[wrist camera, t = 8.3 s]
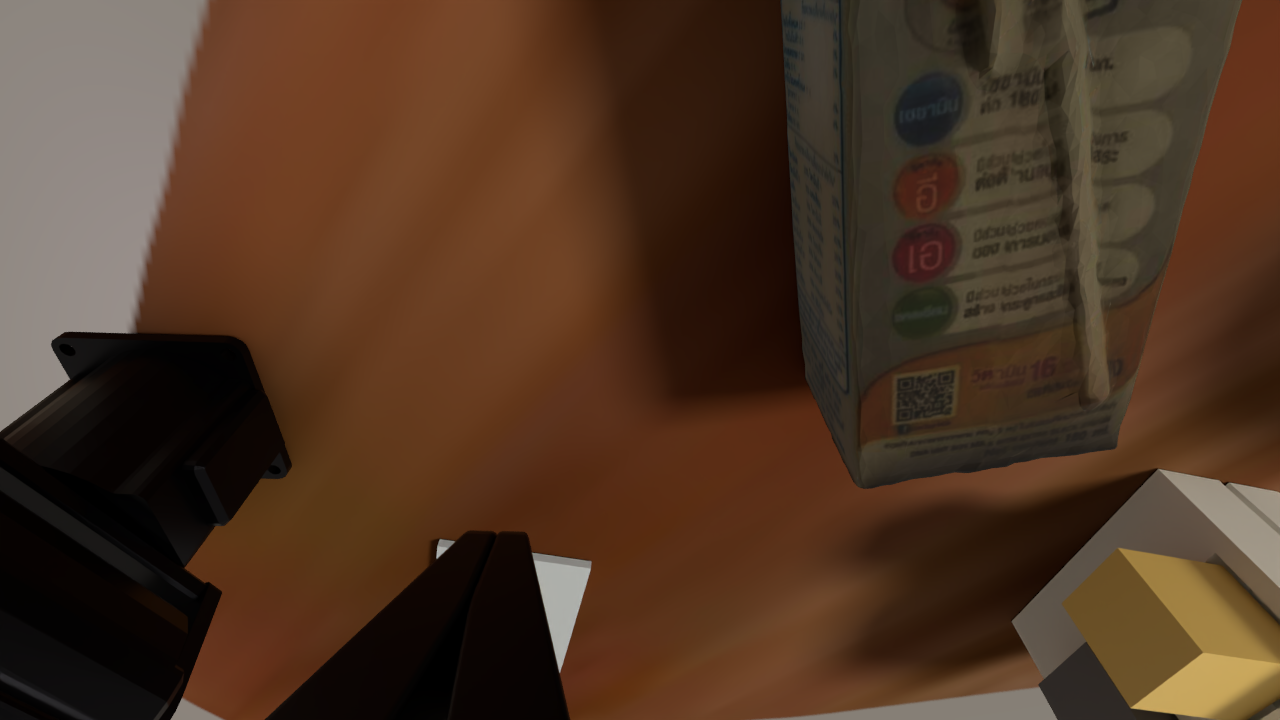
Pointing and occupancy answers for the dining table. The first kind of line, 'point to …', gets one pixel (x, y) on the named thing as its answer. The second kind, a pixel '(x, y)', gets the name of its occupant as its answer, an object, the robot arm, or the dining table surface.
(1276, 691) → the amber button
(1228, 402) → the dining table surface
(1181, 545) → the console
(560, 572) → the card
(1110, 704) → the charcoal button
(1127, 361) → the beverage carton
